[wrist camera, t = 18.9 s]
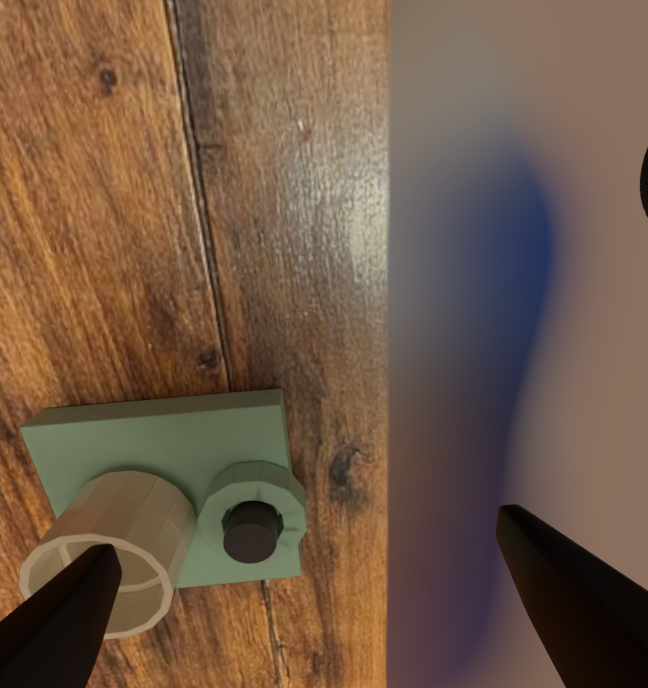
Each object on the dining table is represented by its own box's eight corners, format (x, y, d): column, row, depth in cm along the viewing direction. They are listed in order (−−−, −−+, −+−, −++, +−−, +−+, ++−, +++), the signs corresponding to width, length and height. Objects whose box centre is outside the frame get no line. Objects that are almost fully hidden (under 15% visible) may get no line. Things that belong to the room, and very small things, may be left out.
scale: (295, 386, 21) (294, 420, 17) (313, 548, 25) (314, 600, 21) (43, 408, 20) (-7, 447, 17) (103, 569, 24) (72, 625, 21)
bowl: (186, 458, 20) (153, 527, 15) (207, 549, 22) (184, 631, 18) (62, 470, 19) (-5, 542, 15) (96, 560, 22) (46, 646, 17)
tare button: (275, 497, 19) (273, 521, 18) (281, 535, 20) (279, 561, 19) (225, 502, 19) (218, 526, 18) (232, 540, 20) (227, 566, 19)
